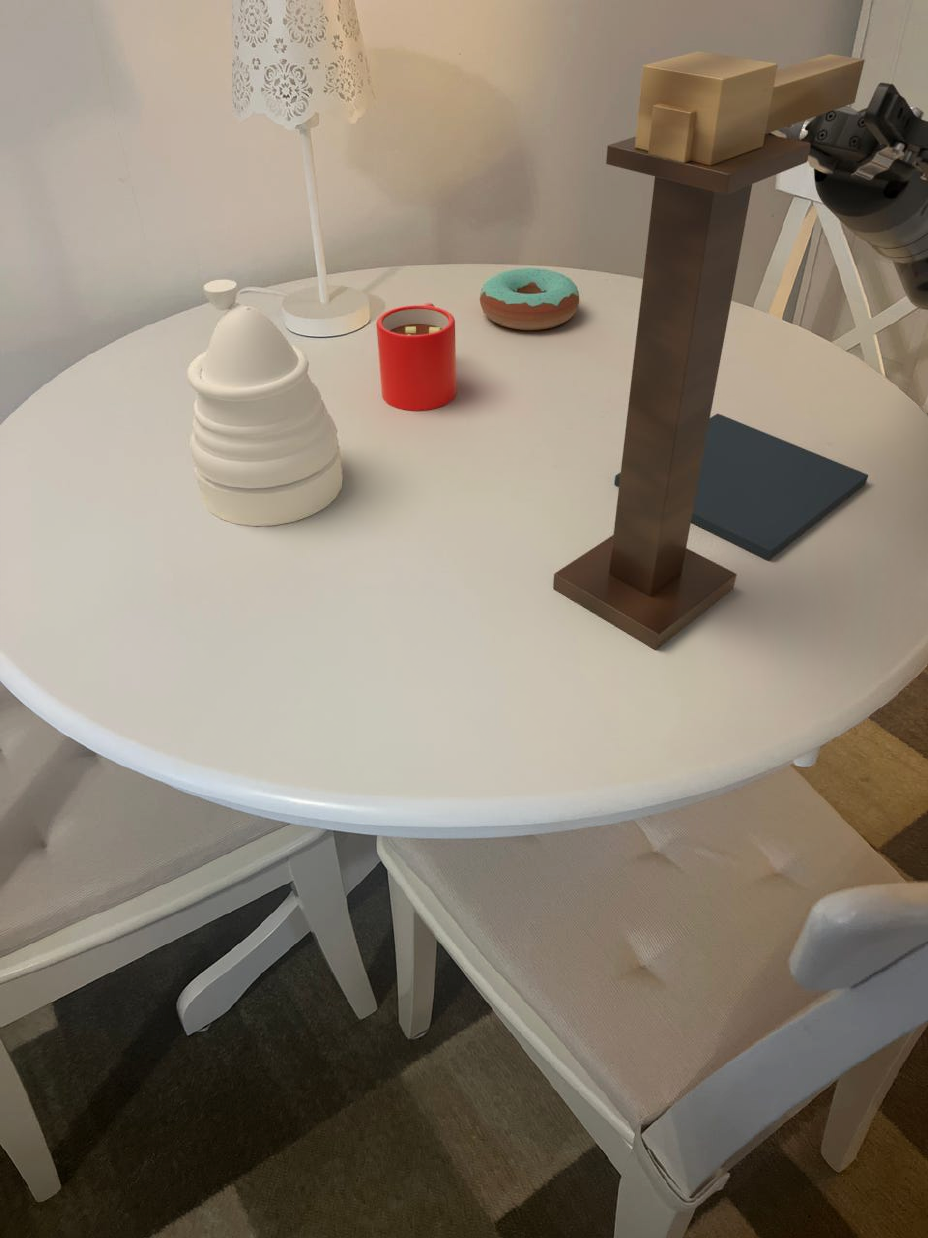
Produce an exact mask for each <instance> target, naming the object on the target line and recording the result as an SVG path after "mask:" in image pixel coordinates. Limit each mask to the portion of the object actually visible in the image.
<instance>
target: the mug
mask: <svg viewBox="0 0 928 1238" xmlns="http://www.w3.org/2000/svg"><path fill="white" fill-rule="evenodd" d="M375 326H376V338H377V349H378V351H377V352H378V362H379V375H380V388H381V389H380V390H381V397H382V399H383V400H384V402H386V403H387V404H388V405H389V406H392V407H394V408H396V409H400V410H404V411H412V412H413V411H415V412H416V411H421V412H422V411H429V410H434V409H439V408H441V407H445V406H446V405H447V404H449V403H450V402H452V401H453V400H454V399H455V398H456V396H457V354H456V351H457V350H456V349H457V347H456V320H455V317H454V316H453V314H452V313H451V312H449V311H447V310H446V309H443V308H440V307H437V306H435V305H434V304H433V303H432V302H425V303H423V304H422V305H421V304H420V305H419V304H417V305H416V304H414V305H405V306H399V307H394V308H392V309H389V310H387V311H385V312H383V313H382V314H381V315H379V317H378V318H377V320H376V324H375Z"/></svg>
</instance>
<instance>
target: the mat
mask: <svg viewBox="0 0 928 1238" xmlns="http://www.w3.org/2000/svg"><path fill="white" fill-rule="evenodd" d="M620 474H621V471H620V472H619V473H616V475H615V476H614V484H613V485H614V486H616V487H618V488H619V483H620ZM868 478H869V474H868V473H865V472H863V471H860V470H857V469H855V468H852V467H850V466H848V465H846V464H843V463H840V462H838V461H835V460H833V459H830V458H828V457H826V456H823V455H820V454H818V453H816V452H814V451H810V450H809V449H806V448H804V447H801V446H799V445H796V444H794V443H791V442H789V441H786V440H784V439H781V438H779V437H776V436H775V435H772V434H769V433H766V432H765V431H762V430H759V429H756V428H755V427H752V426H750V425H748V424H744V423H743V422H740V421H737V420H735V419H733V418H730V417H728V416H726V415H723V414H720V413H716V414H714V415H713V416H710V420H709V426H708V431H707V437H706V442H705V448H704V453H703V459H702V464H701V470H700V475H699V481H698V486H697V492H696V497H695V503H694V508H693V514H692V519H691V524H694V525H695V526H697V527H699V528H701V529H704V530H705V531H707V532H710V533H711V534H713V535H716V536H717V537H719V538H721V539H723V540H725V541H727V542H730V543H731V544H734V545H736V546H738V547H740V548H742V549H744V550H746V551H748V552H750V553H752V554H754V555H756V556H757V557H759V558H762V559H764V560H766V561H768V562H769V561H770V560H772V559H773V558H774V557H775V556H777V555H778V554H779V553H781V551H783V550H784V549H786V548H787V547H788V546H789V545H791V544H792V543H793V542H795V541H796V540H797V539H799V537H800V536H802V535H803V534H805V533H806V532H807V531H808V530H809V529H811V528H812V527H813V526H815V525H816V524H817V523H818V522H820V521H821V520H823V518H825V517H827V515H828V514H830V513H832V512H833V510H835V509H836V508H837V507H839V506H840V505H841V504H842V503H844V502H845V501H846V500H848V499H849V498H850V497H851V496H853V495H854V494H855V493H856V492H858V491H859V490H860V489H861V488H863V487H864V486H865V485H866V484H867V481H868Z"/></svg>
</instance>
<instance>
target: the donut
mask: <svg viewBox="0 0 928 1238" xmlns="http://www.w3.org/2000/svg"><path fill="white" fill-rule="evenodd" d="M482 286H483V287H482V288H481V290H480V294H479V295H480V296H479V303H480V307H481V309H482V313H483V314H484V315H485V316H486V318H488V319H489V320H490V321H492V322H494V323H495V324H497V325H500V326H501V327H505V328H507V329H508V328H509V329H513V330H518V331H519V330H520V331H540V330H547V329H551V328H554V327H557V326H561V325H562V324H564V323H566V322H568V321H569V320H570V319H571V318H572V317H573V316H574V315H575V314H576V311H577V309H578V307H579V305H580V293H579V290H578V286H577V284H576V283H575V282H574V281H573V280H572V279H571V278H570V277H568V276H567V275H565V274H563V273H560V272H557V271H554V270H550V269H544V268H535V267H526V268H525V267H524V268H515V269H508V270H505V271H501V272H499V273H497V274H495V275H493V276H492V277H489V279H487V281H485V282H484V283H483V285H482Z"/></svg>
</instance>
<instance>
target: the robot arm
mask: <svg viewBox="0 0 928 1238" xmlns="http://www.w3.org/2000/svg"><path fill="white" fill-rule="evenodd" d="M924 115H925V112H924V111H923V110H921V109H920V108H919V107H917V106H910V104H909V103H908V102H907V100H906V98H905V97H903V96H902V95H901V94H900V92H899V90H898V89H897V87H896V86H895V85H894V83H887V82H879V83H878V84H877V86H876V88H875V90H874V92H873V94H872V97H871V99H870V101H869V104H868V105H867V107H865V108H863V109H861V110H856V109H854V108H852V107H850V106H849V105H847V106H844V107H841V108H839V109H836V110H833V111H830V112H827V113H824V114H821V115H819V116H816V117H813V118H812V120H810V121H809V122H808V123H807V124H806V125H805V127H804V124H805V122H806V120H804V121H802V122H799V123H796V124H793V125H790V126H787V127H785V128H782V129H779V130H776V131H773V132H770V133H768V135H773V136H778V137H783V138H788V139H793V140H798V141H803V142H807V143H811V146H810V151H809V156H808V160H807V163H808V164H809V166H810V167H811V168H813V177H814V178H813V179H814V186H815V191H816V193H817V196H818V198H819V200H820V201H821V202H822V204H823V205H824V206H825V207H826V208H827V209H828V210H829V211H830V212H831V213H832V214H833V215H834V216H835V217H836V218H837V219H838V220H839V221H840V222H841V223H842V224H843V225H844V226H845V227H846V228H847V229H848V230H849V231H850V232H851V233H852V234H854V235H855V236H856V237H858V238H859V239H860V240H862V241H865V242H867V244H868V245H869V246H871V248H872V249H873V250H874V251H875V252H876V253H878V254H879V255H880V256H882V257H883V258H885V259H887V260H889V261H892V263H893V266H894V268H895V271H896V273H897V276H898V279H899V281H900V284H901V286H902V289H903V290H904V293H905V295H906V297H907V299H908V300H909V302H910V304H912V305H913V306H914V307H916V308H918V309H921V310H926V311H928V121H927V120H925V119H923V117H924ZM803 127H804V128H803Z"/></svg>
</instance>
